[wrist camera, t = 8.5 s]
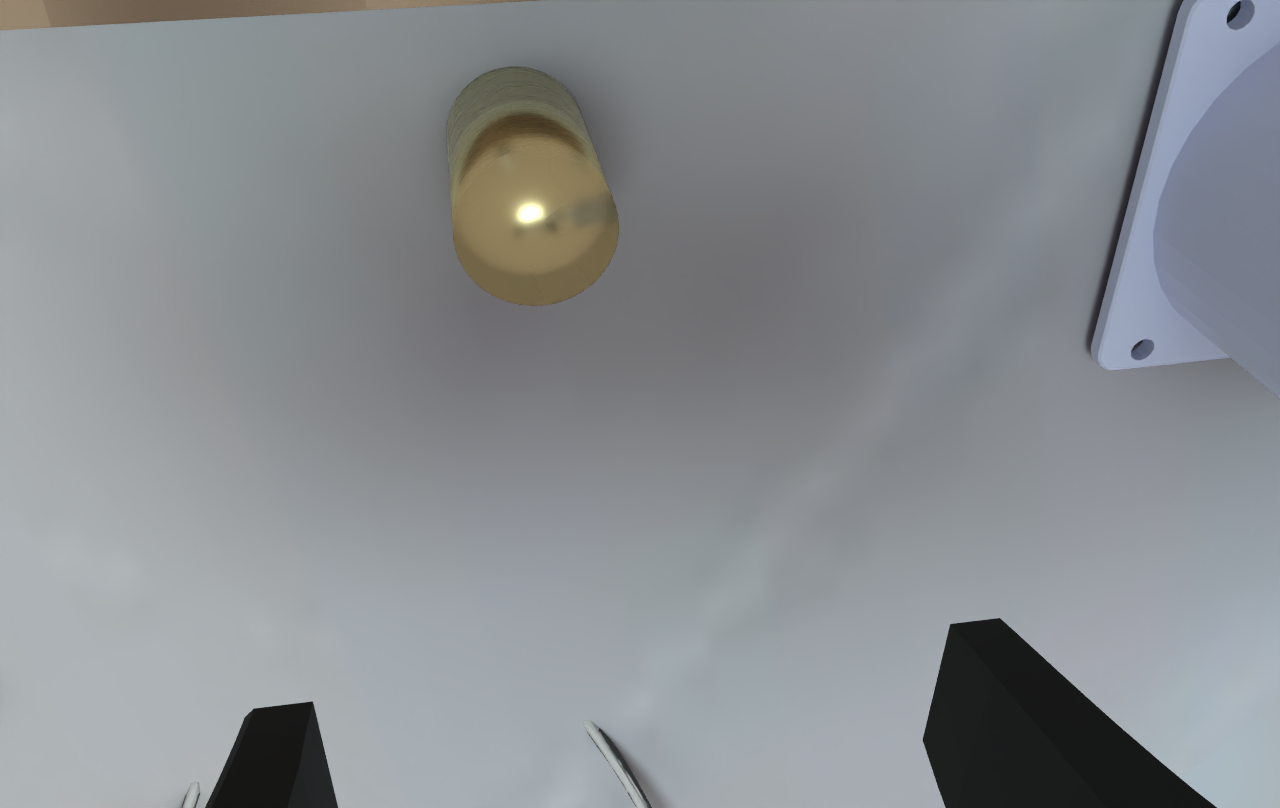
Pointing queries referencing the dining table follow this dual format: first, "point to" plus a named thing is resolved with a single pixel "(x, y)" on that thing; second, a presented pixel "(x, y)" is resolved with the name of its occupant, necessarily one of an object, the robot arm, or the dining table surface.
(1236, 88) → the robot arm
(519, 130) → the short pin
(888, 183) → the dining table surface
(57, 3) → the hole block
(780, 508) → the dining table surface
